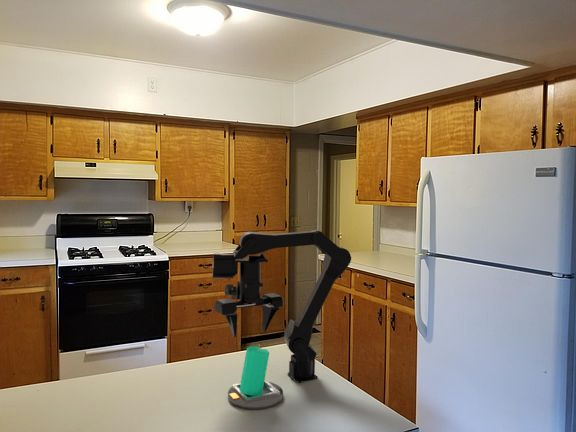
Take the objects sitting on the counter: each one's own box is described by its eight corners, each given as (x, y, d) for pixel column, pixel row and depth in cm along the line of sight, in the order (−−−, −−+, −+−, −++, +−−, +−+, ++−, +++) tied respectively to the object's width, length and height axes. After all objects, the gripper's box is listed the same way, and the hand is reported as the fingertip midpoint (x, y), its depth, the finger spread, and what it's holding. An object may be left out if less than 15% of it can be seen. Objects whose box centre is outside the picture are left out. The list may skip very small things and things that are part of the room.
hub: (267, 381, 123) (267, 373, 123) (292, 402, 111) (293, 393, 110) (219, 391, 116) (219, 383, 116) (241, 415, 104) (241, 406, 104)
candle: (258, 397, 109) (267, 349, 109) (235, 391, 110) (244, 343, 111) (265, 390, 115) (273, 344, 115) (243, 384, 116) (252, 339, 117)
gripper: (265, 270, 133) (265, 321, 134) (206, 276, 123) (206, 331, 124) (285, 277, 124) (284, 332, 125) (223, 283, 114) (222, 343, 115)
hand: (249, 334), depth 122 cm, fingers open, 9 cm apart
